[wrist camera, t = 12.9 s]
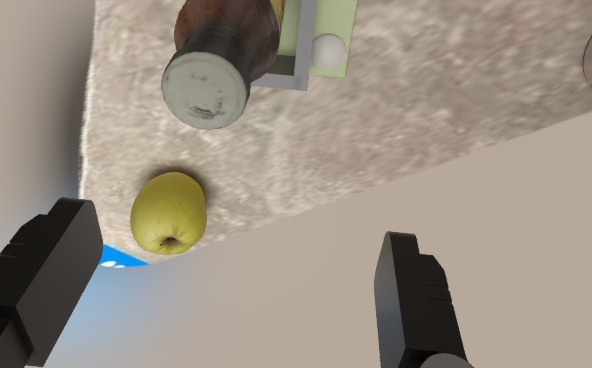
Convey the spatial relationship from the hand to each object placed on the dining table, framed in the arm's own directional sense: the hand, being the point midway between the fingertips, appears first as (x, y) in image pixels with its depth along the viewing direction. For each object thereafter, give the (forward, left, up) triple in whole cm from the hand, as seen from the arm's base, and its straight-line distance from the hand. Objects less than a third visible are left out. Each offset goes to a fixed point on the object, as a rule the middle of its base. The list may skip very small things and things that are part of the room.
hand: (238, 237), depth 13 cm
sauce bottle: (+3, +2, -30) cm, 30 cm away
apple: (+11, +25, -32) cm, 41 cm away
